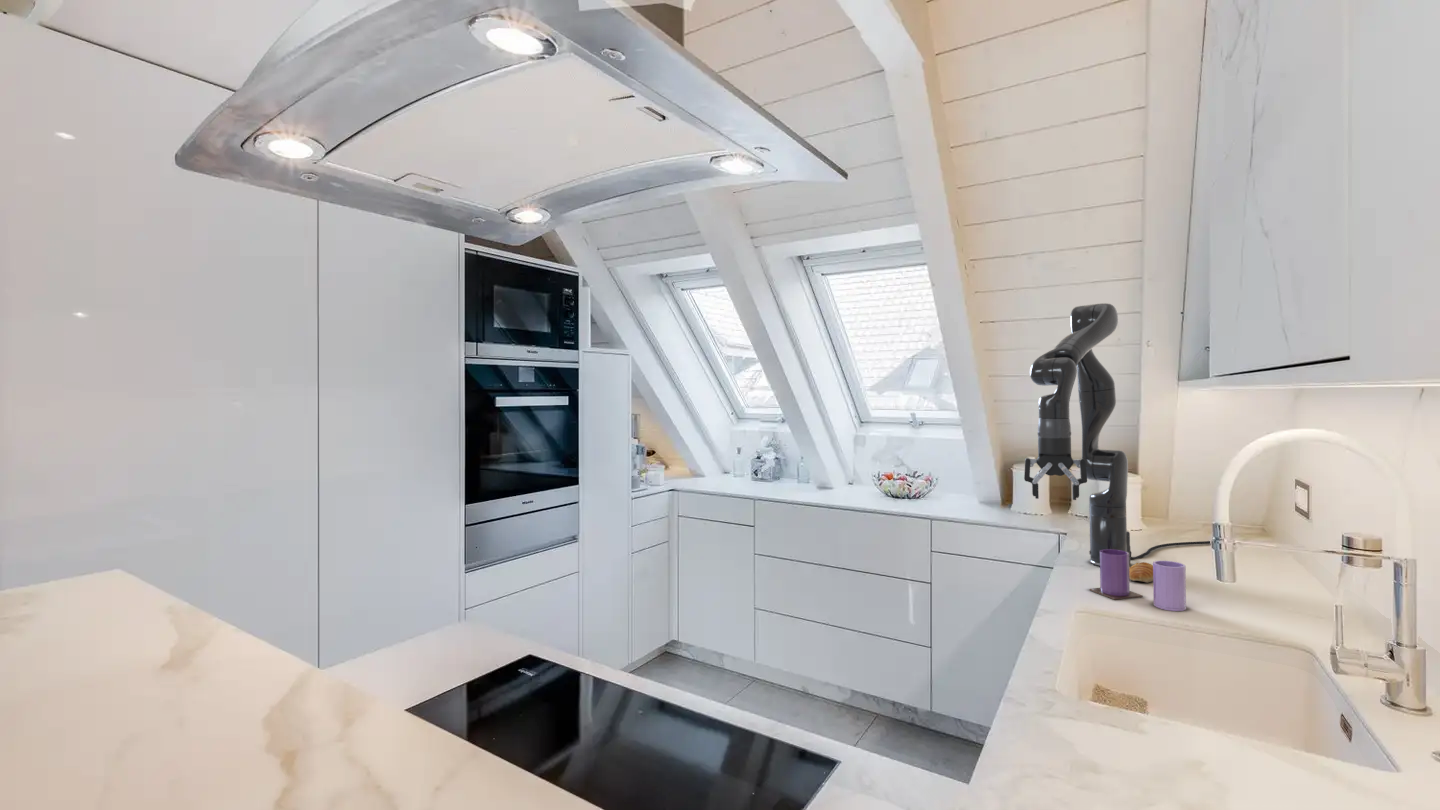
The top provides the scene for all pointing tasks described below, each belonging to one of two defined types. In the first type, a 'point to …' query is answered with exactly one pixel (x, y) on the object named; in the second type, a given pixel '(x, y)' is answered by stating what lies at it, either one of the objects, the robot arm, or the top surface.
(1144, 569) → the pastry
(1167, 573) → the lilac cup
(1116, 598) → the coaster
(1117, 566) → the plum cup
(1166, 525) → the top surface
